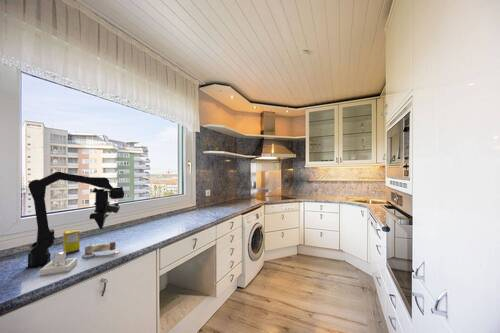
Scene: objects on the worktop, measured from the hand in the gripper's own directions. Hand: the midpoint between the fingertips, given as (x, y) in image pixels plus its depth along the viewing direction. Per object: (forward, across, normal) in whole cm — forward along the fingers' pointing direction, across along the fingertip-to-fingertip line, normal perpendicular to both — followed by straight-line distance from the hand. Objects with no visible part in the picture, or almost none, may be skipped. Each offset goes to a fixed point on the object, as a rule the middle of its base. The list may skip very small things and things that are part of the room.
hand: (101, 228), depth 116 cm
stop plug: (+12, -19, +11) cm, 25 cm away
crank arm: (+11, -6, -1) cm, 12 cm away
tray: (+12, -19, +11) cm, 25 cm away
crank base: (+12, -6, -1) cm, 13 cm away
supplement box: (+12, +6, +15) cm, 20 cm away
